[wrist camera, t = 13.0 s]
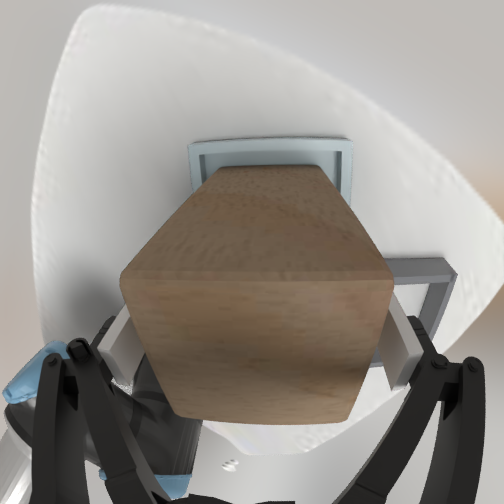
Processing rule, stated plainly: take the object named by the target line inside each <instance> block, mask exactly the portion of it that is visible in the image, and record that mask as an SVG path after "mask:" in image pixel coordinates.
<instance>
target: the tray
mask: <svg viewBox="0 0 504 504" xmlns="http://www.w3.org/2000/svg"><path fill="white" fill-rule="evenodd" d="M352 150H353V141H351V140H348V139H343V138H315V137H276V138H247V139H230V140H217V141H206V142H195V143H193V144H190V145H188V154H189V163H190V172H191V181H192V189H193V193H194V192H195V191H196V190H197V189H198V188H199V187H200V186H201V185H202V184H203V183H204V182H205V181H206V180H207V179H208V178H209V177H210V176H211V175H212V174H213V173H214V172H215V171H216V170H218V169H219V168H221V167H227V166H249V165H318V166H320V167H321V169H322V170H323V171H324V173H325V174H326V175H327V177H328V178H329V179H330V181H331V182H332V183H333V185H334V186H335V187H336V189H337V190H338V191H339V193H340V194H341V196H342V197H343V198H344V200H345V201H346V203H347V204H348V205H349V207H350V198H351V180H352Z"/></svg>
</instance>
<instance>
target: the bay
mask: <svg viewBox="0 0 504 504" xmlns="http://www.w3.org/2000/svg"><path fill="white" fill-rule="evenodd" d="M384 260H385V262H386V263H387V265H388V267H389V268H390V270H391V272H392V273H393V278H394V285H406V284H425V283H430V286H429V290H428V293H427V296H426V299H425V302H424V305H423V308H422V310H421V313H420V316H419V320H420V321H421V323H422V325H423V326H424V329H425V330H426V332H427V335H428V336H429V338H430V340H431V342H432V340H433V337H434V335H435V333H436V331H437V328H438V326H439V324H440V321H441V319H442V316H443V314H444V311H445V309H446V306H447V304H448V301H449V298H450V296H451V293H452V290H453V287H454V284H455V281H456V278H457V275H458V274H457V273H456V272H455V271H454V269H453V268H452V267H451V266H450V265H449V264H448V262H447V261H446V260H445V259H444V258H411V259H384ZM381 366H383V363H382V360H381V357H380V354H379V351H378V348H377V347H376V349H375V352H374V355H373V358H372V361H371V364H370V366H369V368H372V367H381Z"/></svg>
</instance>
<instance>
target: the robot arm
mask: <svg viewBox="0 0 504 504" xmlns="http://www.w3.org/2000/svg"><path fill="white" fill-rule="evenodd" d="M377 348H378V351H379V354H380V357H381V360H382V363H383V366H384V369H385V372H386V375H387V378H388V382H389V385H390V388H391V391H395V390H401V389H405V387H406V386H407V384H408V382H409V384H410V386H411V389H410V391H409V392H408V394H407V396H406V397H405V399H404V402H403V403H402V405H401V407H400V409H399V411H398V412H397V414H396V416H395V418H394V419H393V421H392V423H391V424H390V426H389V428H388V430H387V431H386V433H385V434H384V436H383V437H382V439H381V440H380V442H379V444H378V445H377V447H376V448H375V449H374V451H373V452H372V454H371V455H370V457H369V458H368V460H367V461H366V462H365V464H364V465H363V466H362V468H361V469H360V471H359V472H358V473H357V475H356V476H355V477H354V479H353V480H352V481H351V482H350V483H349V485H348V486H347V487H346V489H345V490H344V491H343V492H342V493H341V494H340V495H339V497H338V498H337V499H336V500H335V501H334V502H333V503H332V504H385V502H386V498H387V495H388V493H389V492H390V490H391V489H392V487H393V486H394V484H395V483H396V481H397V480H398V478H399V476H400V475H401V473H402V471H403V470H404V468H405V466H406V465H407V463H408V461H409V459H410V458H411V456H412V454H413V452H414V450H415V448H416V446H417V445H418V443H419V441H420V439H421V436H422V435H423V432H424V430H425V428H426V426H427V424H428V422H429V420H430V417H431V415H432V413H433V411H434V408H435V406H436V403H437V401H442V402H441V410H440V417H439V424H438V431H437V437H436V442H435V447H434V452H433V456H432V461H431V465H430V469H429V473H428V477H427V480H426V484H425V487H424V491H423V494H422V497H421V500H420V503H419V504H474V503H475V498H476V493H477V489H478V483H479V478H480V472H481V465H482V456H483V447H484V435H485V375H484V366H483V364H482V362H481V361H480V360H479V359H478V358H475V357H467V358H466V359H465V360H464V361H463V363H451V362H449V361H448V359H447V358H446V357H445V356H443V355H442V354H438V353H437V351H436V349H435V347H434V345H433V343H432V342H431V340H430V338H429V336H428V335H427V332H426V330H425V329H424V326H423V325H422V323H421V321H420V320H419V319H418V318H416V317H415V316H406V315H405V313H404V311H403V309H402V307H401V305H400V303H399V301H398V300H397V298H396V296H395V294H394V292H393V293H392V297H391V301H390V305H389V308H388V312H387V315H386V318H385V322H384V325H383V328H382V331H381V335H380V338H379V341H378V344H377ZM113 377H114V379H115V380H116V382H117V384H122V385H127V386H130V384H131V381H132V379H133V386H132V394H131V396H130V395H128V394H127V393H126V392H124V391H123V390H122V389H120V388H119V387H118V386H116V385H115V384H114V383H112V382H111V380H112V378H113ZM2 394H3V396H4V398H5V400H6V402H8V403H9V404H8V405H7V407H6V409H5V410H4V417H5V421H6V424H7V427H8V429H7V430H6V432H5V434H4V435H3V437H2V439H1V441H0V504H90V503H89V496H88V490H87V481H86V473H85V463H84V461H85V460H88V461H90V462H91V463H93V464H95V465H97V466H99V467H100V468H101V469H100V470H99V477H100V478H101V479H102V480H105V486H106V489H107V491H108V493H109V496H110V498H111V500H112V502H113V504H232V503H229V502H226V501H223V500H220V499H217V498H214V497H207V496H200V495H194V494H189V496H188V497H187V498H180V497H182V496H183V495H184V494H185V493H186V490H187V487H188V484H189V480H190V478H191V477H192V470H193V465H194V460H195V455H196V451H197V446H198V441H199V436H200V431H201V426H202V422H203V420H201V419H193V418H186V417H181V416H179V415H177V414H175V413H174V411H173V409H172V407H171V405H170V403H169V402H168V400H167V398H166V396H165V394H164V392H163V390H162V388H161V386H160V384H159V382H158V380H157V377H156V375H155V373H154V371H153V369H152V367H151V365H150V362H149V360H148V358H147V356H146V353H145V351H144V349H143V346H142V344H141V342H140V339H139V337H138V334H137V332H136V330H135V327H134V324H133V322H132V319H131V317H130V314H129V311H128V309H127V306H126V304H125V305H124V307H123V308H122V310H121V311H120V313H119V314H118V316H112V317H111V318H109V319H108V320H107V321H106V322H105V323H104V325H103V326H102V329H100V331H99V334H97V335H96V337H95V338H94V340H93V342H92V343H91V345H90V346H89V344H88V342H87V340H86V339H84V338H77V339H74V340H72V341H71V342H70V343H69V344H68V345H67V344H65V343H64V342H61V341H52V342H50V343H48V344H47V345H46V346H45V347H44V348H42V349H41V350H40V351H39V352H38V353H37V354H36V355H35V356H34V357H33V358H32V359H31V360H30V361H29V362H28V363H27V364H26V365H25V366H24V367H23V368H22V369H21V370H20V371H19V372H18V373H17V375H16V376H15V377H14V378H13V379H12V381H10V382H9V383H8V385H7V386H6V387H5V389H4V390H3V392H2ZM170 498H173V499H175V500H171V499H170ZM176 498H179V499H176ZM257 504H295V501H268V502H262V503H257Z"/></svg>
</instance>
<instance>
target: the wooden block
mask: <svg viewBox="0 0 504 504" xmlns="http://www.w3.org/2000/svg"><path fill="white" fill-rule="evenodd" d="M120 289H121V292H122V295H123V298H124V300H125V303H126V306H127V309H128V311H129V314H130V317H131V319H132V322H133V324H134V327H135V330H136V332H137V334H138V337H139V339H140V342H141V344H142V346H143V349H144V351H145V353H146V356H147V358H148V360H149V362H150V365H151V367H152V369H153V371H154V373H155V375H156V377H157V380H158V382H159V384H160V386H161V388H162V390H163V392H164V394H165V396H166V398H167V400H168V402H169V403H170V405H171V407H172V409H173V411H174V413H175V414H177V415H179V416H181V417H186V418H193V419H201V420H209V421H218V422H229V423H242V424H263V425H306V424H327V423H340V422H343V421H345V420H347V419H348V417H349V414H350V412H351V410H352V408H353V406H354V403H355V401H356V399H357V396H358V394H359V392H360V389H361V387H362V384H363V382H364V379H365V377H366V374H367V372H368V369H369V366H370V364H371V361H372V358H373V355H374V352H375V349H376V347H377V344H378V341H379V338H380V335H381V331H382V328H383V325H384V322H385V318H386V315H387V312H388V308H389V305H390V301H391V297H392V293H393V290H394V278H393V273H392V272H391V270H390V268H389V267H388V265H387V263H386V262H385V260H384V258H383V257H382V255H381V254H380V252H379V250H378V249H377V247H376V246H375V244H374V243H373V241H372V239H371V238H370V236H369V235H368V233H367V232H366V230H365V229H364V227H363V226H362V224H361V223H360V221H359V220H358V218H357V217H356V215H355V214H354V213H353V211H352V210H351V208H350V207H349V205H348V204H347V203H346V201H345V200H344V198H343V197H342V196H341V194H340V193H339V191H338V190H337V189H336V187H335V186H334V185H333V183H332V182H331V181H330V179H329V178H328V177H327V175H326V174H325V173H324V171H323V170H322V169H321V167H320V166H318V165H249V166H227V167H221V168H219V169H218V170H216V171H215V172H214V173H213V174H212V175H211V176H210V177H209V178H208V179H207V180H206V181H205V182H204V183H203V184H202V185H201V186H200V187H199V188H198V189H197V190H196V191H195V192H194V193H193V194H192V195H191V196H190V197H189V198H188V199H187V200H186V201H185V202H184V204H183V205H182V206H181V207H180V208H179V209H178V210H177V211H176V212H175V213H174V214H173V215H172V216H171V217H170V218H169V219H168V220H167V222H166V223H165V224H164V225H163V226H162V227H161V228H160V229H159V230H158V231H157V232H156V234H155V235H154V236H153V237H152V238H151V239H150V240H149V241H148V242H147V244H146V245H145V246H144V247H143V248H142V249H141V250H140V252H139V253H138V254H137V255H136V256H135V257H134V258H133V260H132V261H131V262H130V263H129V264H128V266H127V267H126V268H125V269H124V270H123V271H122V273H121V276H120Z"/></svg>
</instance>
